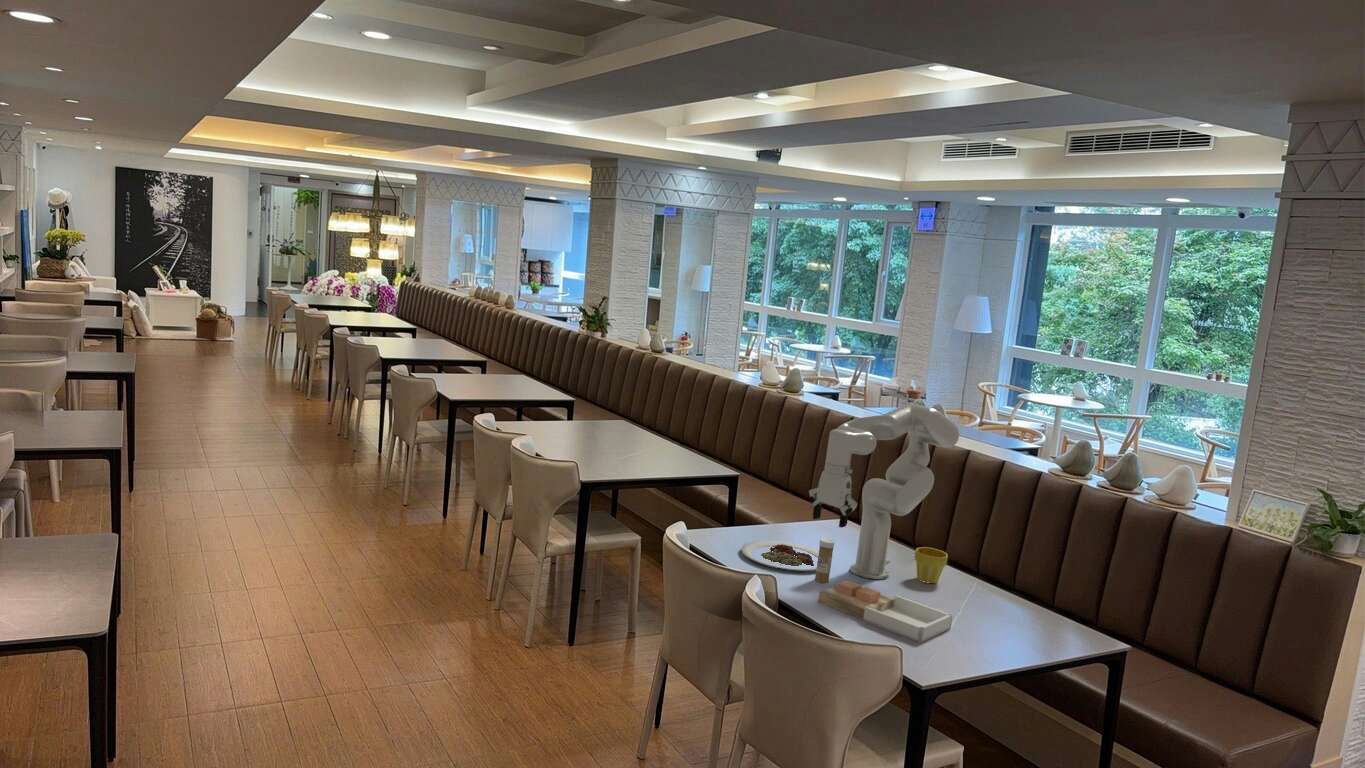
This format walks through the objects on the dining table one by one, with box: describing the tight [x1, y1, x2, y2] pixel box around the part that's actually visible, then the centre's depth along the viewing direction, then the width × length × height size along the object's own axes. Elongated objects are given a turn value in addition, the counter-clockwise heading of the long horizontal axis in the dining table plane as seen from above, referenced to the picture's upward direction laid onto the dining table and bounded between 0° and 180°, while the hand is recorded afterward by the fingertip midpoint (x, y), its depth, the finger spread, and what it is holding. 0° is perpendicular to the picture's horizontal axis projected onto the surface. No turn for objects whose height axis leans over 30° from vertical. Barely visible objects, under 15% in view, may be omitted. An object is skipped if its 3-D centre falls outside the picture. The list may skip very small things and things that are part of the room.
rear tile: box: [837, 580, 862, 597], centre depth 280 cm, size 5×5×2 cm
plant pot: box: [914, 546, 949, 584], centre depth 310 cm, size 10×10×10 cm
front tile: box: [856, 586, 881, 604], centre depth 276 cm, size 5×5×2 cm
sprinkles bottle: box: [814, 538, 835, 584], centre depth 297 cm, size 5×5×13 cm
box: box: [862, 595, 954, 644], centre depth 268 cm, size 18×18×4 cm
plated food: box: [740, 539, 819, 572], centre depth 316 cm, size 30×30×3 cm
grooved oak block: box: [817, 586, 895, 620], centre depth 279 cm, size 16×16×3 cm
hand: (829, 522), depth 295 cm, fingers open, 9 cm apart
